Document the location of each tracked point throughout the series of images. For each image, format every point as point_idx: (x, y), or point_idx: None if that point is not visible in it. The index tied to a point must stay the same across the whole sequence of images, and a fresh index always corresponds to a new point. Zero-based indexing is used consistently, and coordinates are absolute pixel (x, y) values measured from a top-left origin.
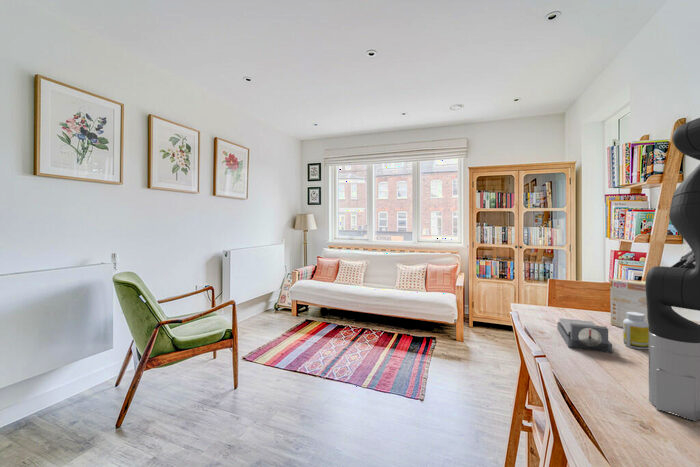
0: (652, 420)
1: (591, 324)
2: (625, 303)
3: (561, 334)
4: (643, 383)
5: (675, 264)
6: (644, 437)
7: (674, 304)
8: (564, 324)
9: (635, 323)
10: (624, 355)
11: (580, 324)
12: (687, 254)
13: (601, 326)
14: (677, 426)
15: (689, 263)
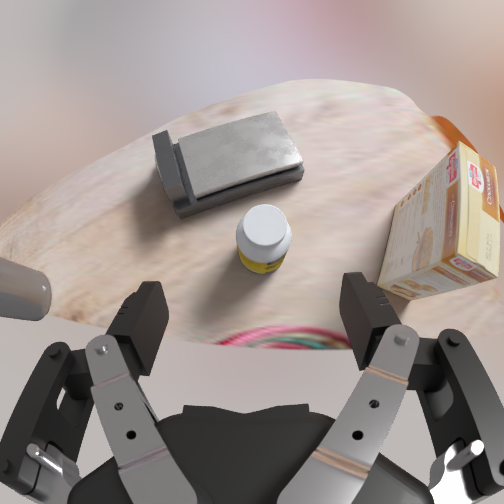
0: None
1: (272, 161)
2: (421, 205)
3: None
4: (75, 266)
5: (359, 301)
6: None
7: None
8: (229, 124)
9: (238, 233)
10: (181, 237)
11: (170, 144)
12: (347, 402)
13: (178, 176)
14: None
15: (45, 357)
